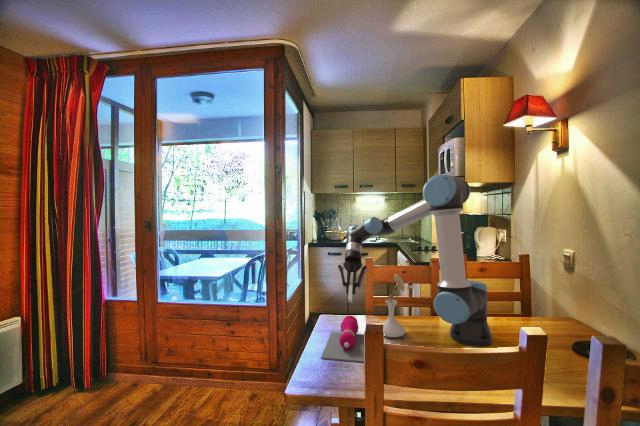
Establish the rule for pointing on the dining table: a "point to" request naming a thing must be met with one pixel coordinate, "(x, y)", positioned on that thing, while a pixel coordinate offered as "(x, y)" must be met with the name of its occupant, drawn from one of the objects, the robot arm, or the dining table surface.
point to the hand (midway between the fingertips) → (350, 300)
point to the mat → (339, 353)
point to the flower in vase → (391, 324)
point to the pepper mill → (348, 332)
